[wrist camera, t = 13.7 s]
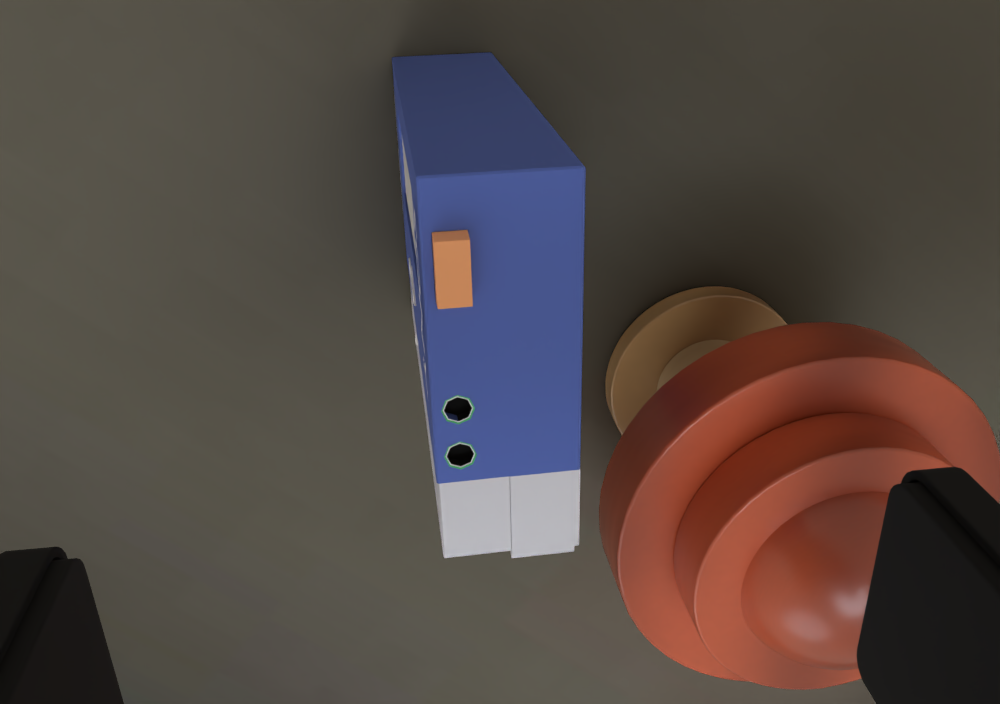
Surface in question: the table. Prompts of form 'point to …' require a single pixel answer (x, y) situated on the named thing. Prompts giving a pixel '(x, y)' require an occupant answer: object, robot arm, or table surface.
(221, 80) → the table surface
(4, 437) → the table surface
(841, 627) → the mushroom
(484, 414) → the walkman
